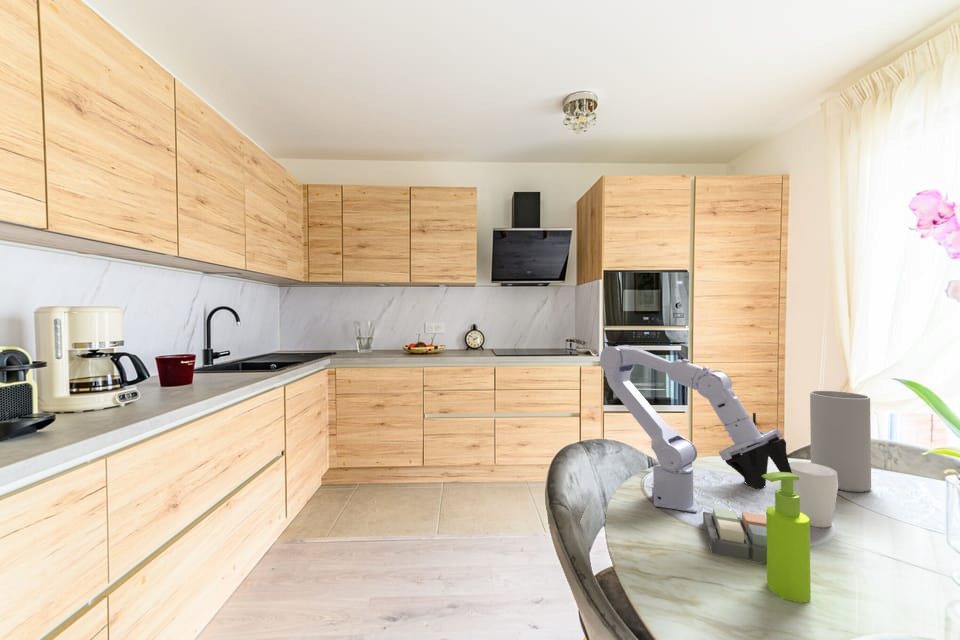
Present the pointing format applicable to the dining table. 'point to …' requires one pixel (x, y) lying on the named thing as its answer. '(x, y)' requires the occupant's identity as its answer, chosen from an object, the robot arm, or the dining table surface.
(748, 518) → the terracotta key
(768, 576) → the soap dispenser
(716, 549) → the grey divided tray
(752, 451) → the drinking cup
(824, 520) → the cup
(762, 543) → the slate key
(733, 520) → the sage key
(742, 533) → the ivory key
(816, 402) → the cylinder vase
